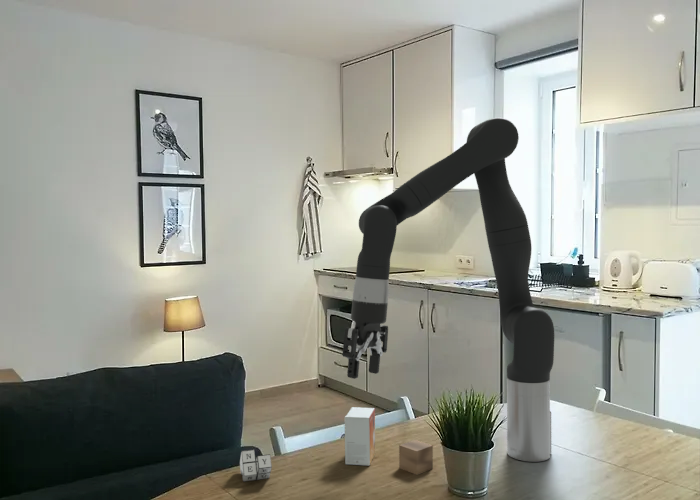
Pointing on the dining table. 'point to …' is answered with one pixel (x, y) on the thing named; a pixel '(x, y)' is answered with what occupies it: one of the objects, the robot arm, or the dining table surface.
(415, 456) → the walnut cube
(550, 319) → the robot arm
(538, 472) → the dining table surface
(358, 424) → the small box
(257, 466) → the building blocks
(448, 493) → the dining table surface
